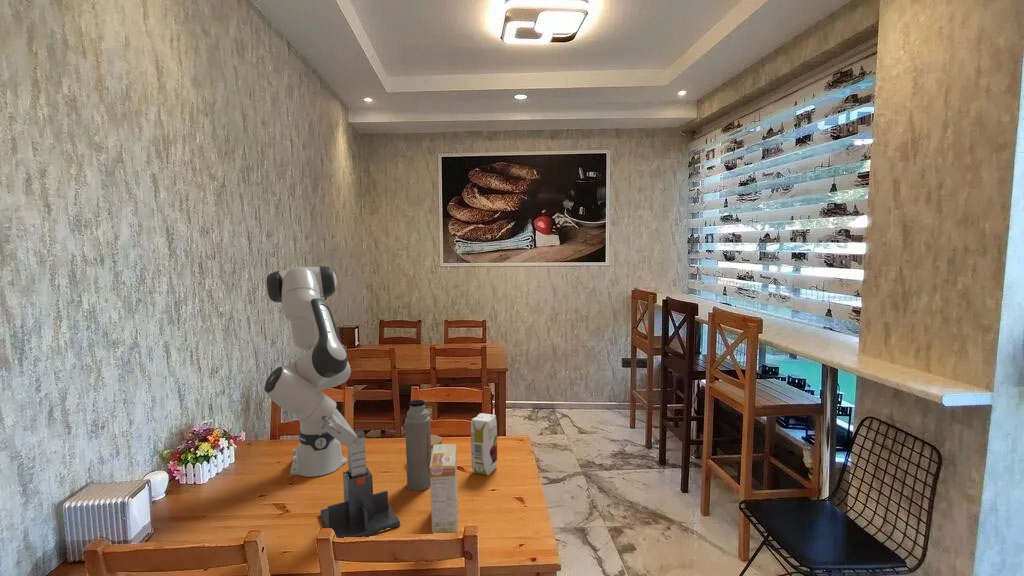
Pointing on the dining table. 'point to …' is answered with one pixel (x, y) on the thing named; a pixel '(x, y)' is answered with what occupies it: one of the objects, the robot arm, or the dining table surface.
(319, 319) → the robot arm
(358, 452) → the steel column
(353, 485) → the jack stand
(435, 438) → the lidded jar
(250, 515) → the dining table surface
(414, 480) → the thermos bottle
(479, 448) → the juice carton
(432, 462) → the coffeecake box
